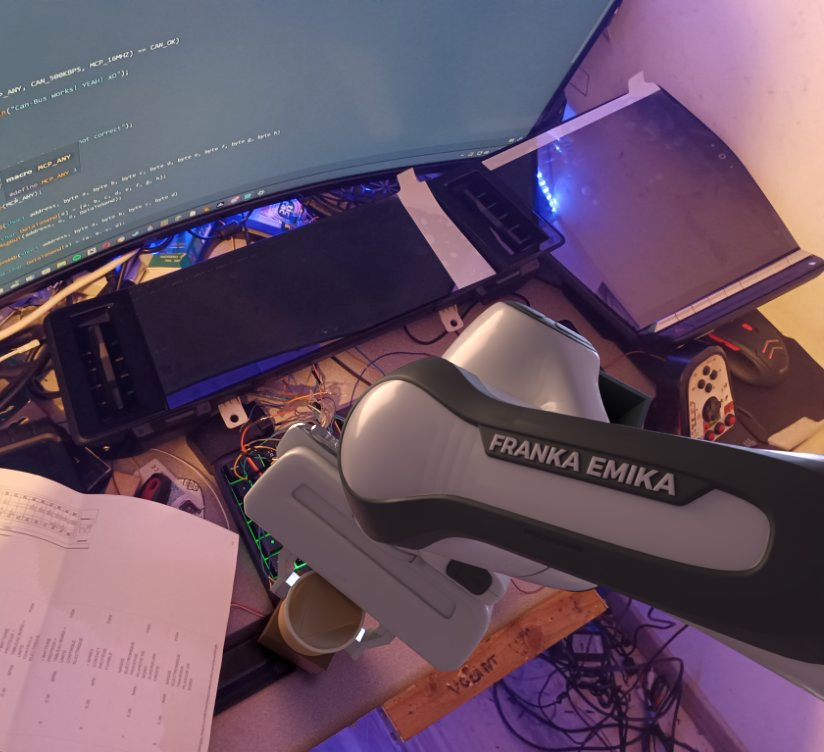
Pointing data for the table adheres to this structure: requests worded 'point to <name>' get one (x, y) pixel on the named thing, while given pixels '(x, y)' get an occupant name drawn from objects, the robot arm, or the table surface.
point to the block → (278, 645)
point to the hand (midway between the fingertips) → (314, 621)
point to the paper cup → (318, 617)
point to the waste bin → (622, 401)
